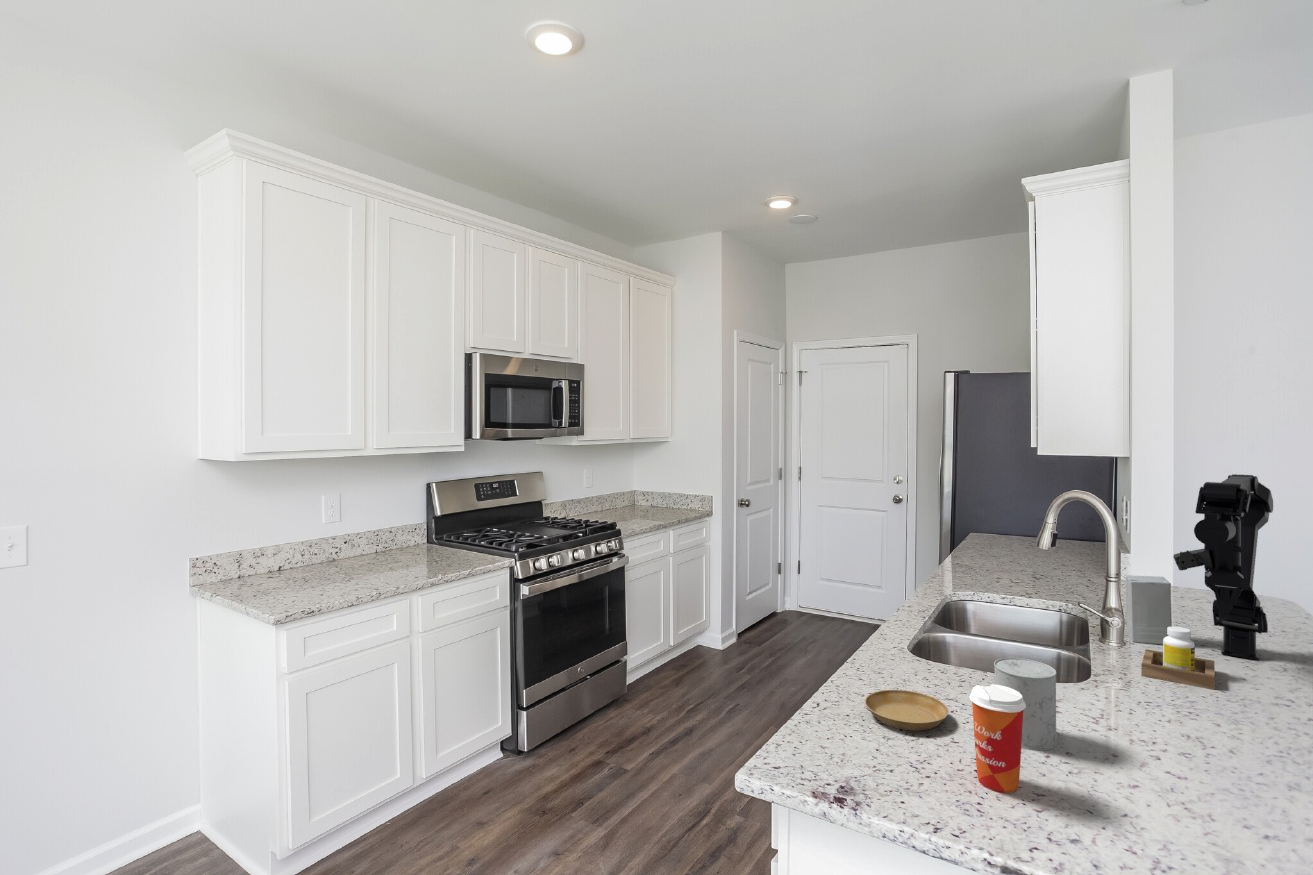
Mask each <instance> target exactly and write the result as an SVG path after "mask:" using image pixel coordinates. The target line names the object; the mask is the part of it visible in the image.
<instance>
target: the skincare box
mask: <svg viewBox="0 0 1313 875" xmlns="http://www.w3.org/2000/svg"><path fill="white" fill-rule="evenodd" d="M1171 588H1172V584H1171V582H1170V581H1168V579H1166V577H1164V576H1156V575H1155V576H1153V575H1152V576H1150V575H1149V576H1148V575H1133V574H1132V575H1131V574H1129V575H1128V574H1126V575H1125V602H1126V603H1125V604H1126V609H1125V610H1126V635H1127V637H1129V639H1130V640H1131V642H1132V643H1139V644H1154V645H1163V639H1164V638H1165V637H1167V636H1169V635H1168V634H1167V628H1168V627H1173V624H1172V623H1173V622H1172V592H1171V591H1172V589H1171Z"/></svg>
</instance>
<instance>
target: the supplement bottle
mask: <svg viewBox="0 0 1313 875" xmlns="http://www.w3.org/2000/svg"><path fill="white" fill-rule="evenodd" d="M1167 634H1168V635H1169V636H1167V637H1165V638H1164V639H1163V644H1162V645H1163V646H1162V652H1163V665H1162V666H1165V667H1171V668H1176V669H1182V670H1188V671H1193V672H1196V671H1195V658H1196V657H1195V656H1196V646H1195V642H1194V641H1193V640H1192V639H1190V638H1191V637H1192V632H1191V630H1190V629H1189V628H1185V627H1182V626H1181V627H1180V626H1172V627H1168V628H1167Z"/></svg>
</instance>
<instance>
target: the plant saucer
mask: <svg viewBox="0 0 1313 875" xmlns="http://www.w3.org/2000/svg"><path fill="white" fill-rule="evenodd" d="M864 705H865V706H866V708H867V709H868V711H869V712H870V713H871V714H872V715H873V716H874V718H876V719H877V720H878V721H880V722H881V723H882V724H884V725H886V726H889V727H891V728H895V729H898V730H904V731H913V732H914V731H915V732H918V731H926V730H931V729H933V728H935V727H936V726H938V725H939V724H941V723H942V722H943V721H944V720H946V717H948V715H949V712H950V711H949V708H948V706H947V705H946V704H945V703H944V702H943V701H941V700H939V699H937V698H935V697H934V696H931V695H928V694H925V693H921V692H917V691H911V690H904V689H885V690H877V691H875V692H872V693H870V694H868V695H867V696H865V699H864Z"/></svg>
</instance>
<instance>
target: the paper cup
mask: <svg viewBox="0 0 1313 875" xmlns="http://www.w3.org/2000/svg"><path fill="white" fill-rule="evenodd" d="M969 699H970V701H971V705H972V706H971V707H972V708H971V709H972V718H973V720H972V721H973V734H974V736H973V738H974V748H975V761H976V765H975V766H976V774H977V780H978V783H979V784H980V785H981V786H983V787H985V788H986V789H988V790H991V791H994V792H996V793H997V792H998V793H1004V794H1009V793H1014V792H1016V791H1018V789H1019V785H1020V773H1021V772H1020V771H1021V759H1022V758H1021V757H1022V755H1021V754H1022V748H1021V744H1022V726H1023V710H1024V709H1025V708H1026V704H1025V702H1024V701H1023V697H1022V695H1021V694H1020V693H1019V692H1018V691H1016V690H1014V689H1011V688H1009V687H1005V686H1001V685H995V683H994V684H993V683H992V684H991V685H990V684H981V685H979V684H977V685H975V686H973V688H972V690H971V692H970V693H969Z"/></svg>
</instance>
